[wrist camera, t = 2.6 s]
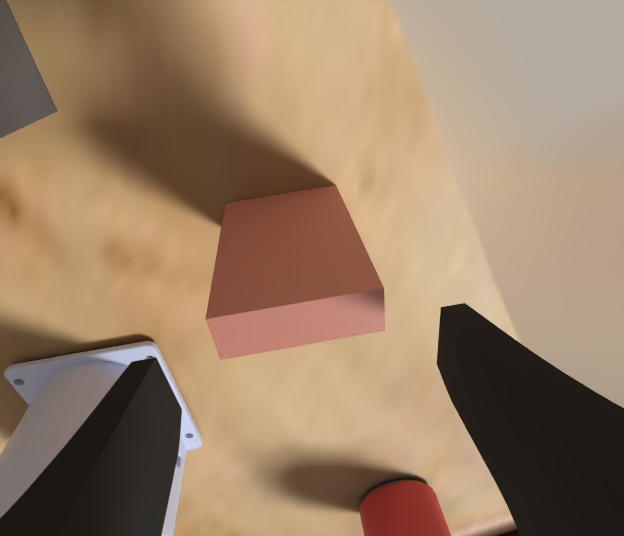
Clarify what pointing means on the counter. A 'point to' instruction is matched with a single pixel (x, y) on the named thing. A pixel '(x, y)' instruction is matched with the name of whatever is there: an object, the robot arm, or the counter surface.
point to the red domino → (291, 275)
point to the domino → (19, 79)
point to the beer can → (402, 510)
